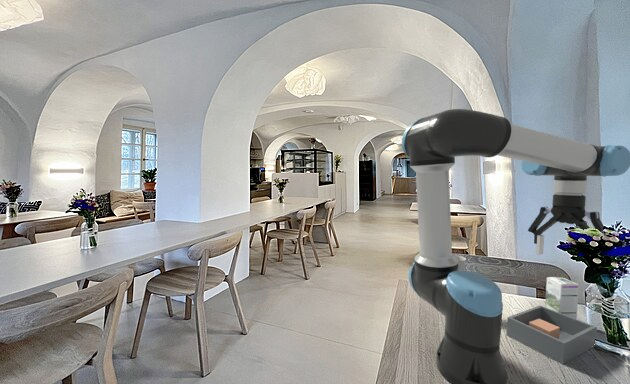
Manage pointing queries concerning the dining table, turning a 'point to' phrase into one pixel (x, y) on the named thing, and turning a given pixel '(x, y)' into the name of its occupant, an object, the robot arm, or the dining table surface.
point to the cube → (545, 327)
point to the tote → (568, 346)
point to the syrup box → (562, 296)
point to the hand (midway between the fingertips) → (564, 259)
